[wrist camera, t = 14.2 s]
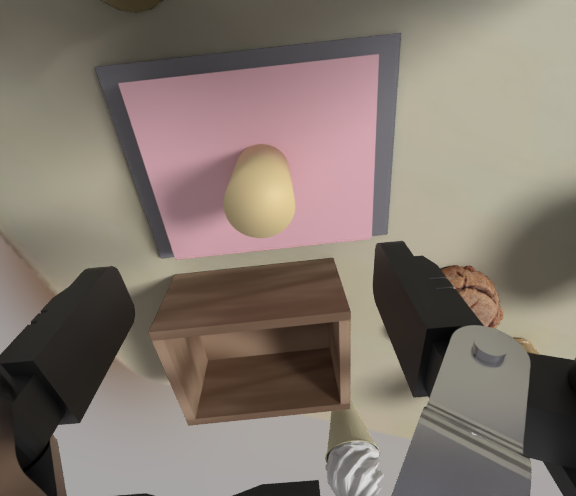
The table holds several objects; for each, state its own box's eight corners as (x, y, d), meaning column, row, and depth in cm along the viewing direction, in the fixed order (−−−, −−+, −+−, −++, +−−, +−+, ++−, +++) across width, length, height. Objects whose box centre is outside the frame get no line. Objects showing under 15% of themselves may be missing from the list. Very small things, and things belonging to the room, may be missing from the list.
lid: (132, 81, 20) (57, 90, 13) (368, 55, 20) (422, 49, 13) (182, 245, 26) (149, 312, 19) (364, 226, 26) (399, 286, 19)
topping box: (174, 274, 28) (148, 332, 22) (333, 257, 28) (350, 311, 22) (203, 360, 34) (188, 425, 27) (335, 346, 33) (350, 408, 27)
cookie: (493, 249, 29) (515, 267, 26) (496, 329, 34) (515, 351, 31) (385, 282, 30) (395, 303, 27) (403, 355, 35) (414, 378, 32)
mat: (97, 67, 20) (94, 67, 20) (398, 33, 20) (401, 32, 20) (162, 256, 27) (161, 258, 27) (385, 232, 27) (387, 234, 27)
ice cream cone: (307, 374, 35) (328, 554, 22) (350, 359, 35) (398, 537, 22) (324, 399, 38) (352, 575, 25) (364, 386, 37) (415, 561, 24)
